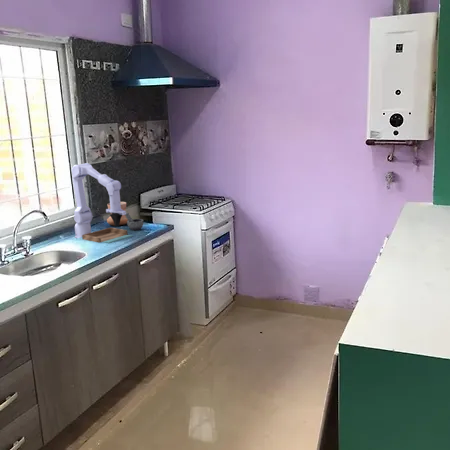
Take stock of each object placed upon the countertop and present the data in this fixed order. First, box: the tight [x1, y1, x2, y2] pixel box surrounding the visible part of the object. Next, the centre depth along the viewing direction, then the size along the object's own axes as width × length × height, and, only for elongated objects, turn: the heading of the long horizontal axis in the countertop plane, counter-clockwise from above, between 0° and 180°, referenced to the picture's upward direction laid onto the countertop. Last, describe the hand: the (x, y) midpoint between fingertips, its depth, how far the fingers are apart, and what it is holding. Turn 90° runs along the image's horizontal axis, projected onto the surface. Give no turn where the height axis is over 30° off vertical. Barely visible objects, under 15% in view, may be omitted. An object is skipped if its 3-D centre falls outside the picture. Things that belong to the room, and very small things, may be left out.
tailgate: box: [102, 234, 134, 244], centre depth 303 cm, size 1×18×6 cm
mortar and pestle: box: [125, 212, 144, 231], centre depth 325 cm, size 11×9×12 cm
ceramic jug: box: [106, 201, 128, 227], centre depth 345 cm, size 18×14×14 cm
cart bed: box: [81, 227, 129, 244], centre depth 310 cm, size 15×21×4 cm
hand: (117, 226), depth 301 cm, fingers closed
